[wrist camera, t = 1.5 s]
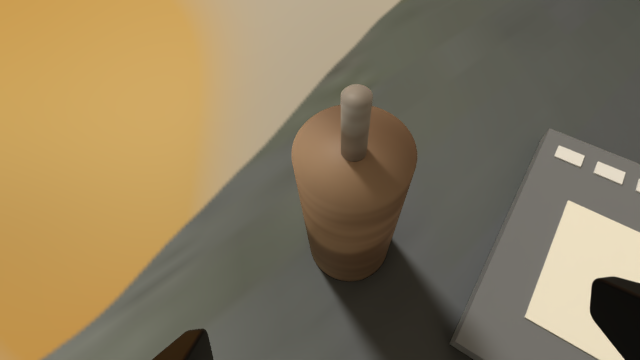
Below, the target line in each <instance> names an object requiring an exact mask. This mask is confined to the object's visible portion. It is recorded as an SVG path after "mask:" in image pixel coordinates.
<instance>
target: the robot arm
mask: <svg viewBox="0 0 640 360" xmlns="http://www.w3.org/2000/svg"><path fill="white" fill-rule="evenodd" d="M590 314H591V317H592V319H593V320H594V322H595V323H596V324H597V326H598V327H599V328H600V329H601V331H602V332H603V333H604V334H605V336H606V337H607V338H608V339H609V341H610V342H611V343H612V344H613V346H614V347H615V348H616V349H617V351H618V352H619V353H620V354H621V356H622V357H623V358H624V360H640V283H638V282H634V281H630V280H626V279H623V278H619V277H615V276H610V277H602V278H596V279H595V280H594V281H593V282H592V287H591V298H590ZM152 360H213V355H212V351H211V346H210V342H209V337H208V334H207V331H206V330H205V329H195V330H188V331H186V332H185V333H183V334H182V335H181V336H180V337H179V338H177V339H176V340H175V341H174V342H173V343H171V344H170V345H169V346H168V347H167V348H165V349H164V350H163V351H162V352H161V353H159V354H158V355H157V356H156V357H155V358H153V359H152Z"/></svg>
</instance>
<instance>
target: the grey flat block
mask: <svg viewBox="0 0 640 360" xmlns="http://www.w3.org/2000/svg"><path fill="white" fill-rule="evenodd" d="M610 276H615V277H619V278H623V279H626V280H630V281H634V282H638V283H640V164H638V163H636V162H633V161H631V160H628V159H626V158H623V157H620V156H618V155H615V154H613V153H610V152H608V151H605V150H603V149H600V148H598V147H595V146H593V145H590V144H588V143H585V142H583V141H580V140H578V139H575V138H573V137H570V136H568V135H565V134H563V133H560V132H558V131H555V130H553V129H549V130H548V131H547V132H546V134H545V135H544V136H543V137H542V139H541V141H540V143H539V145H538V147H537V149H536V152H535V154H534V156H533V158H532V161H531V163H530V165H529V167H528V169H527V172H526V174H525V176H524V178H523V181H522V183H521V185H520V187H519V190H518V192H517V194H516V196H515V198H514V201H513V203H512V205H511V207H510V210H509V212H508V214H507V216H506V218H505V221H504V223H503V225H502V227H501V230H500V232H499V234H498V236H497V239H496V241H495V243H494V245H493V247H492V250H491V252H490V254H489V256H488V259H487V261H486V263H485V265H484V267H483V270H482V272H481V274H480V276H479V279H478V281H477V283H476V285H475V287H474V290H473V292H472V294H471V296H470V299H469V301H468V303H467V305H466V308H465V310H464V312H463V314H462V316H461V319H460V321H459V323H458V325H457V328H456V330H455V332H454V334H453V336H452V339H451V341H450V343H449V344H450V345H451V346H453V347H455V348H456V349H458V350H459V351H461V352H462V353H464V354H466V355H467V356H469V357H470V358H472V359H473V360H624V358H623V357H622V356H621V354H620V353H619V352H618V351H617V349H616V348H615V347H614V346H613V344H612V343H611V342H610V341H609V339H608V338H607V337H606V336H605V334H604V333H603V332H602V331H601V329H600V328H599V327H598V326H597V324H596V323H595V322H594V320H593V319H592V317H591V314H590V298H591V287H592V282H593V281H594V280H595V279H596V278H602V277H610Z"/></svg>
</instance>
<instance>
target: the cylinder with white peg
mask: <svg viewBox="0 0 640 360" xmlns="http://www.w3.org/2000/svg"><path fill="white" fill-rule="evenodd" d="M372 99H373V94H372V92H371V90H370V89H369V88H367V87H366V86H363V85H358V84H355V85H350V86H348V87H346V88H345V89H344V90H343V91H342V93H341V105H338V106H334V107H330V108H328V109H325V110H323V111H321V112H319V113H317V114H316V115H314V116H313V117H311V118H310V119H309V120H308V121H307V122H306V123H305V124H304V125H303V126H302V127H301V129H300V130H299V131H298V133H297V135H296V137H295V140H294V142H293V147H292V163H293V168H294V173H295V178H296V182H297V187H298V192H299V196H300V201H301V206H302V211H303V215H304V220H305V225H306V230H307V234H308V239H309V244H310V248H311V253H312V256H313V258H314V261H315V262H316V264H317V265H318V267H319V268H320V269H321V270H322V271H323V272H324V273H326V274H327V275H329V276H331V277H332V278H335V279H337V280H341V281H358V280H362V279H365V278H367V277H369V276H370V275H372V274H373V273H375V272H376V271H377V270H378V269H379V268H380V266H381V265H382V263H383V262H384V260H385V257H386V254H387V251H388V248H389V245H390V242H391V239H392V236H393V233H394V230H395V227H396V224H397V221H398V218H399V215H400V212H401V209H402V206H403V204H404V201H405V198H406V195H407V192H408V189H409V186H410V183H411V180H412V177H413V174H414V171H415V168H416V163H417V149H416V144H415V141H414V139H413V137H412V135H411V133H410V131H409V130H408V129H407V127H406V126H405V125H404V124H403V123H402V122H401V121H400V120H399V119H398V118H396V117H395V116H393V115H392V114H390V113H388V112H387V111H385V110H382V109H380V108H377V107H373V106H372Z"/></svg>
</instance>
